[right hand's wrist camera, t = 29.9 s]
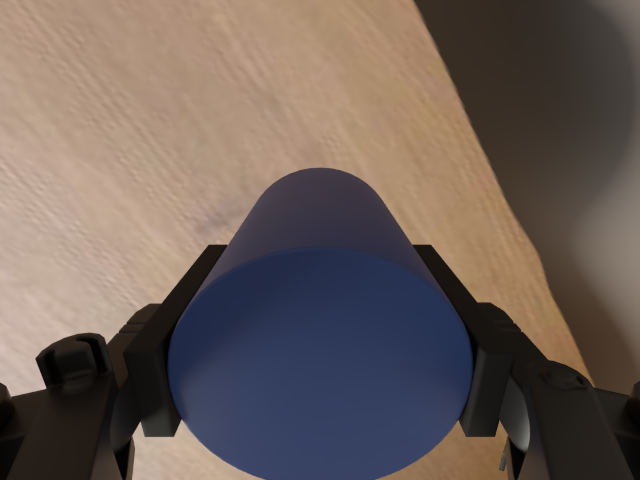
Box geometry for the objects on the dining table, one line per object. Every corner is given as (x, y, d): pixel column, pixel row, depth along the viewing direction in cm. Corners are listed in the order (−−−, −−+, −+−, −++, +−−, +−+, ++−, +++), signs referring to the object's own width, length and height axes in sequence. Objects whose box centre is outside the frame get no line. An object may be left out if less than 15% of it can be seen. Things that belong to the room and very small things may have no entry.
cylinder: (252, 157, 16) (160, 225, 7) (407, 179, 17) (520, 270, 7) (243, 294, 19) (169, 476, 10) (376, 310, 19) (429, 499, 10)
